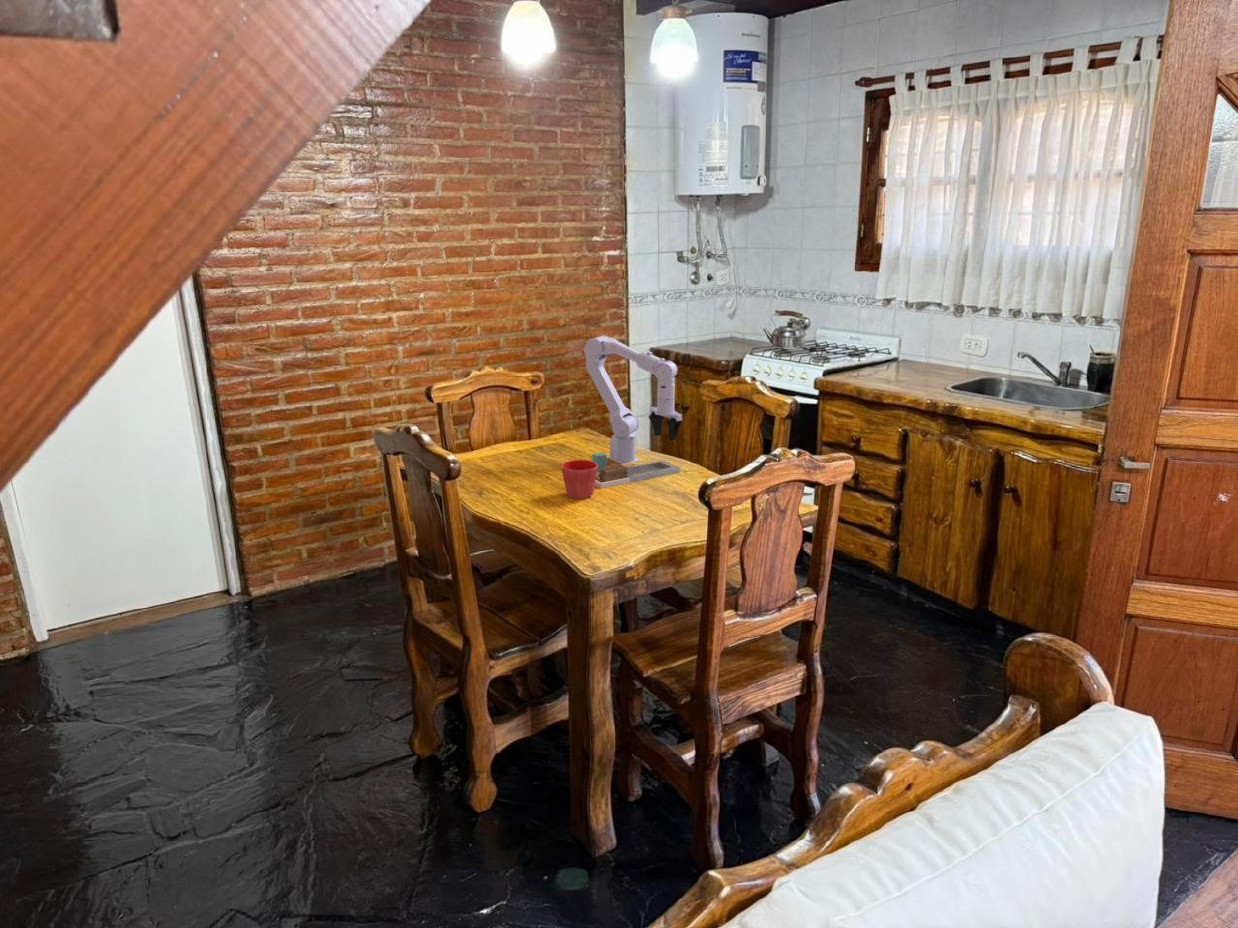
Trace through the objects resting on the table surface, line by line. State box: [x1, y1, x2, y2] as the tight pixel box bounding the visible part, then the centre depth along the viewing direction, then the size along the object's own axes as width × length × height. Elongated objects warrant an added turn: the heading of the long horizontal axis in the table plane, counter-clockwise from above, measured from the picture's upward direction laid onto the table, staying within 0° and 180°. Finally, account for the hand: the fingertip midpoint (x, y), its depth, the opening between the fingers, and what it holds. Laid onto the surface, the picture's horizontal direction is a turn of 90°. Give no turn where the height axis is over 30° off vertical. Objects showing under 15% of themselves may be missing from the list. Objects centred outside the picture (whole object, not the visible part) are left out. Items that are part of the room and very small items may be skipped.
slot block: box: [626, 459, 681, 483], centre depth 273 cm, size 10×20×2 cm, turn 123°
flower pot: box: [561, 459, 598, 500], centre depth 252 cm, size 11×11×10 cm
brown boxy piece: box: [598, 466, 617, 483], centre depth 265 cm, size 4×4×4 cm
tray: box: [594, 473, 631, 489], centre depth 265 cm, size 10×11×2 cm
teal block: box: [591, 452, 608, 473], centre depth 274 cm, size 6×5×6 cm
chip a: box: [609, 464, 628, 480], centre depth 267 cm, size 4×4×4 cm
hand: (665, 437), depth 280 cm, fingers open, 7 cm apart
